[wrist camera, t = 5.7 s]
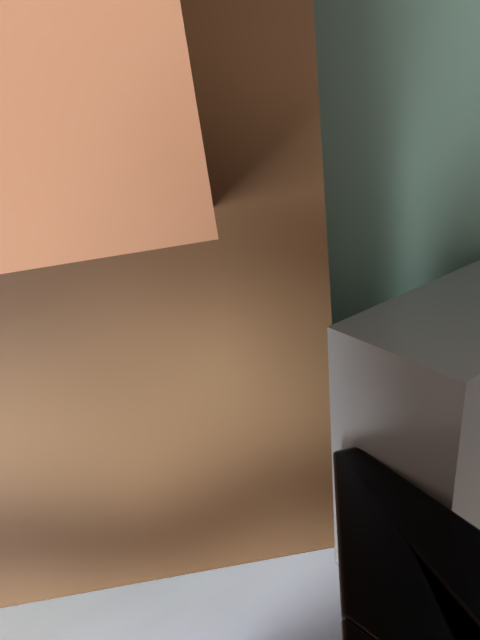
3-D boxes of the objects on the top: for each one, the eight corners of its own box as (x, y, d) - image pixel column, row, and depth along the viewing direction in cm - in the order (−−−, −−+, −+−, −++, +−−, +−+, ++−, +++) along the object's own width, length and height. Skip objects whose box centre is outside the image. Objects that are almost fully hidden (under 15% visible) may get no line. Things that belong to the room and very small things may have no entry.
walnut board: (319, 475, 13) (344, 545, 11) (-66, 543, 13) (-121, 629, 11) (257, -266, 7) (285, -457, 5) (-500, -170, 7) (-858, -326, 4)
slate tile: (479, 445, 13) (578, 494, 11) (335, 561, 10) (434, 658, 8) (507, 247, 10) (640, 265, 8) (327, 326, 8) (466, 382, 6)
